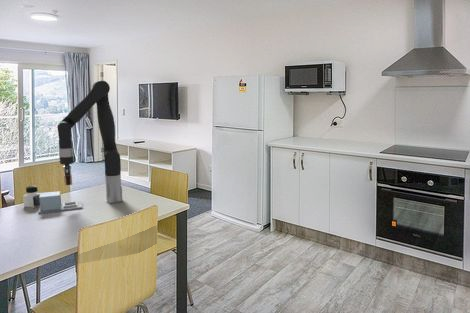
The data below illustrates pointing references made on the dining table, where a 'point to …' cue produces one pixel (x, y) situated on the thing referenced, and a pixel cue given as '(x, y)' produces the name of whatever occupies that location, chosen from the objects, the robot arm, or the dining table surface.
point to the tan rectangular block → (70, 179)
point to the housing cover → (50, 201)
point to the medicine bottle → (31, 197)
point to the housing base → (65, 207)
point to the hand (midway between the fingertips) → (68, 183)
